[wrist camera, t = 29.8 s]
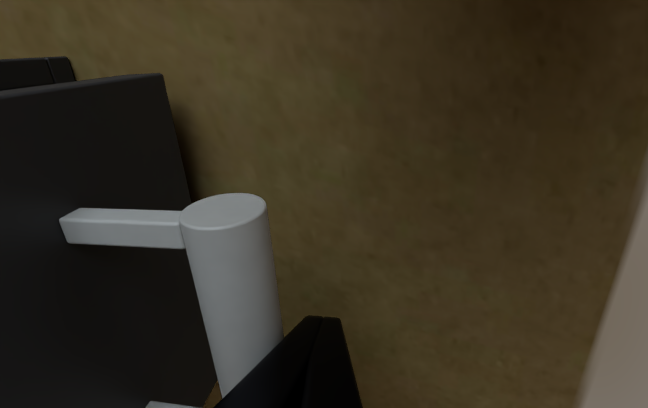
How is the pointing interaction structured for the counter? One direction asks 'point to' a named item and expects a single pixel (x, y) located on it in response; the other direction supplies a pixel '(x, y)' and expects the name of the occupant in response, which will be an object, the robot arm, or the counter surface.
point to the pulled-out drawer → (121, 256)
